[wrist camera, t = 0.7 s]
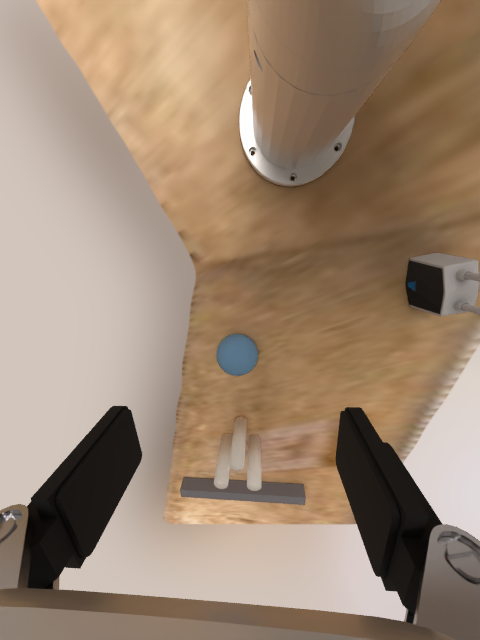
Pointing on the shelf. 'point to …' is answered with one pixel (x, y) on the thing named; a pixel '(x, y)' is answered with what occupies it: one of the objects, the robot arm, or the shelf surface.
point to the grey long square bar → (244, 491)
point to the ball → (237, 354)
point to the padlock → (443, 284)
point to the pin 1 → (223, 462)
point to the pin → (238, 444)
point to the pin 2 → (254, 463)
